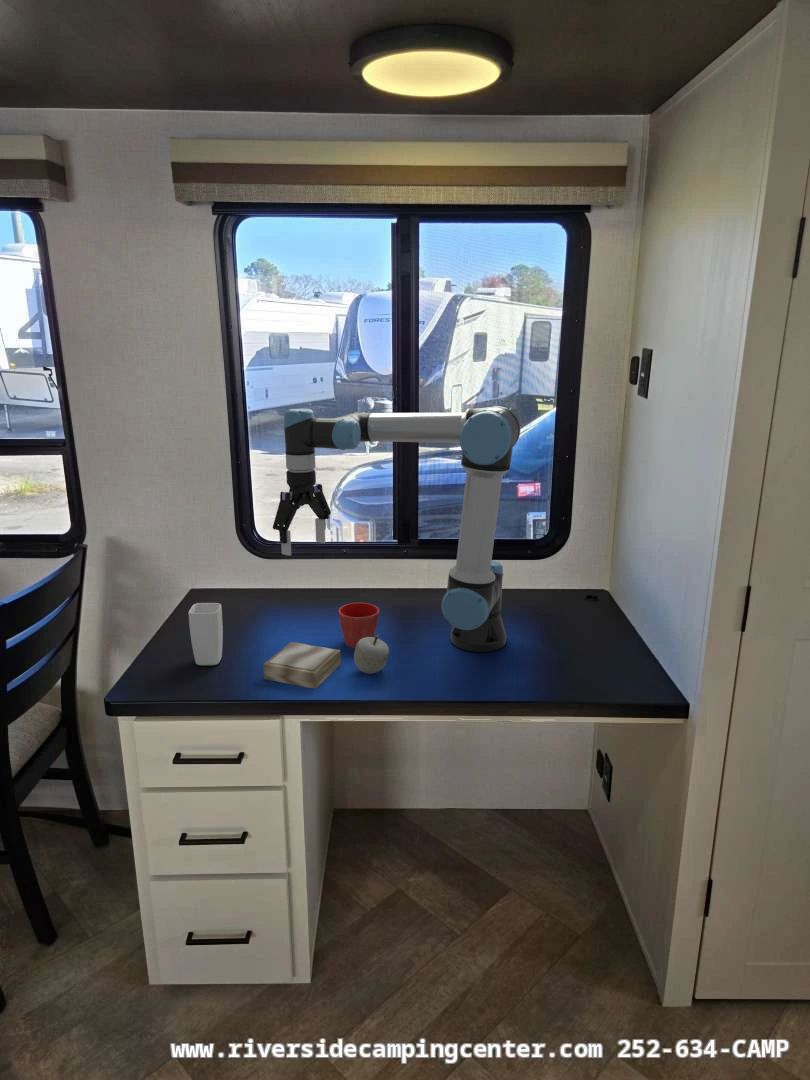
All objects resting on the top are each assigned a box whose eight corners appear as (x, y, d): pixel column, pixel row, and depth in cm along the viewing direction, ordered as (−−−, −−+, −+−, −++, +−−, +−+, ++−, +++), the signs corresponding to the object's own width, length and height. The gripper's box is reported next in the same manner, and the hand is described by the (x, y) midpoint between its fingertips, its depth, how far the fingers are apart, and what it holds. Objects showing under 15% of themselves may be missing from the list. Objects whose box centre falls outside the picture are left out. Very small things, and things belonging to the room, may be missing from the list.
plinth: (340, 664, 188) (340, 649, 186) (315, 688, 175) (315, 672, 174) (292, 655, 192) (291, 640, 191) (264, 678, 180) (263, 662, 178)
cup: (198, 656, 192) (193, 602, 187) (226, 655, 192) (222, 602, 188) (191, 668, 185) (186, 613, 181) (220, 668, 185) (216, 613, 181)
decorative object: (349, 667, 186) (348, 631, 183) (381, 661, 189) (381, 626, 186) (361, 683, 178) (360, 645, 175) (394, 676, 181) (394, 639, 179)
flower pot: (374, 652, 194) (373, 618, 192) (334, 648, 197) (333, 615, 194) (383, 636, 204) (383, 604, 202) (345, 633, 207) (344, 601, 204)
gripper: (321, 461, 202) (323, 535, 208) (255, 475, 182) (260, 557, 188) (342, 463, 198) (344, 539, 204) (277, 479, 178) (282, 562, 184)
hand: (304, 548), depth 196 cm, fingers open, 13 cm apart
